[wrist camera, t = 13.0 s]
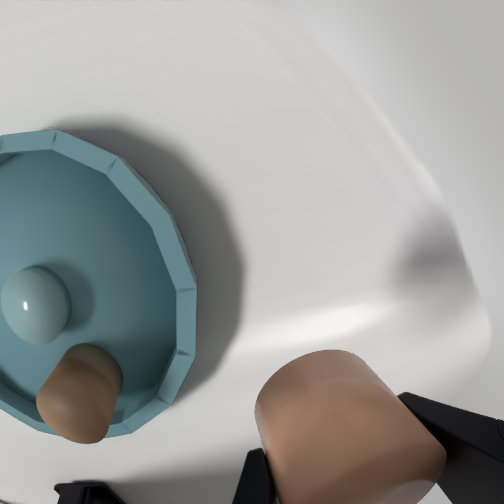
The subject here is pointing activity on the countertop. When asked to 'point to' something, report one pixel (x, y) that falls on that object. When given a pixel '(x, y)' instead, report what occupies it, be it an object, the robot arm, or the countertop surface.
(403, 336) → the countertop surface
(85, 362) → the bead walnut
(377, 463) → the bead terracotta
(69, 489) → the robot arm
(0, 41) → the countertop surface
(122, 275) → the teal round plate
